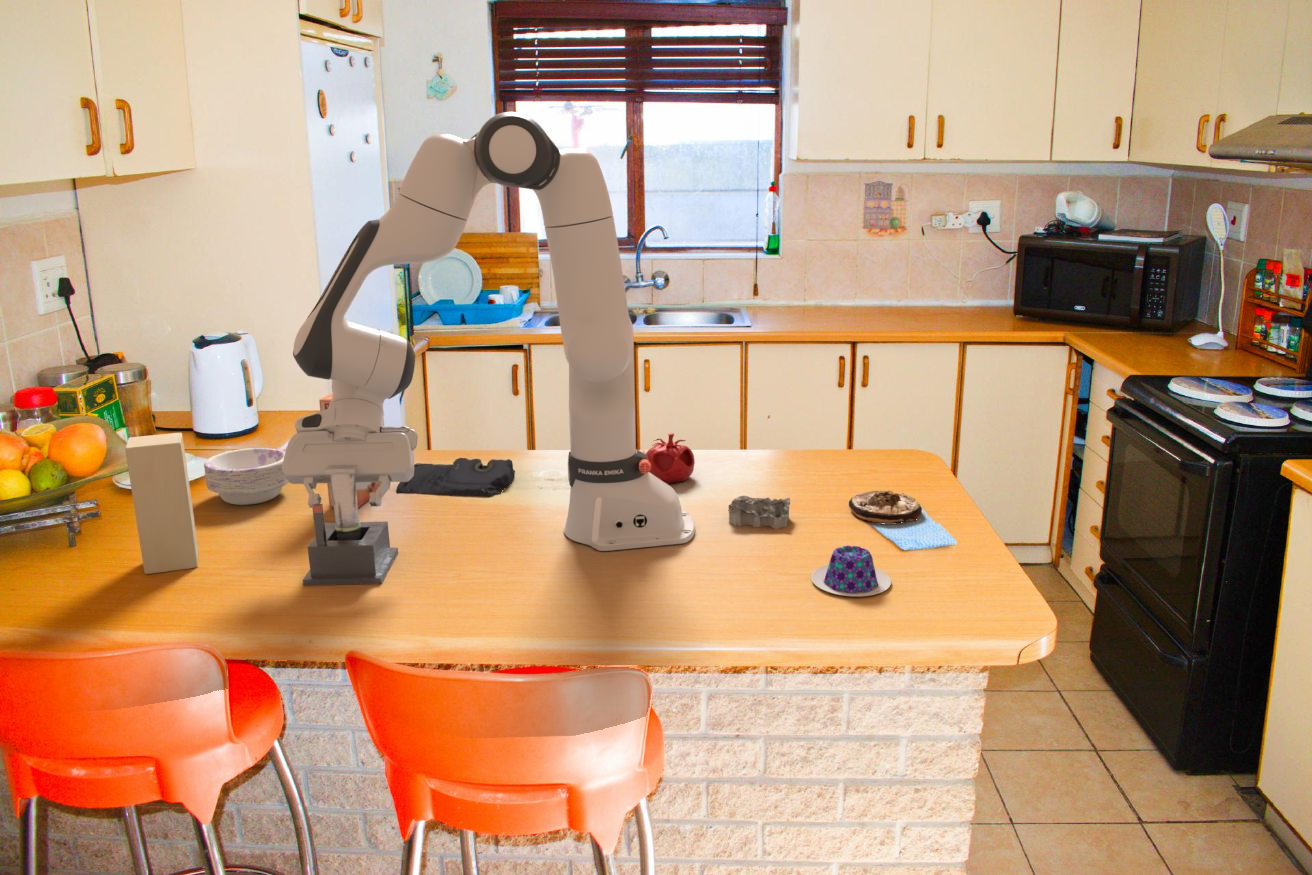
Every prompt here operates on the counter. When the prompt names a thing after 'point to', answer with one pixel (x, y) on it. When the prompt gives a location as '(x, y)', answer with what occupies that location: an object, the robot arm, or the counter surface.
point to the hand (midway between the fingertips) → (344, 505)
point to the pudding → (851, 573)
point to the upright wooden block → (162, 502)
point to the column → (345, 501)
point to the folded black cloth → (460, 478)
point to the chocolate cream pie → (884, 507)
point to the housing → (348, 554)
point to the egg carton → (759, 512)
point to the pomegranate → (671, 461)
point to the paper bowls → (246, 475)
